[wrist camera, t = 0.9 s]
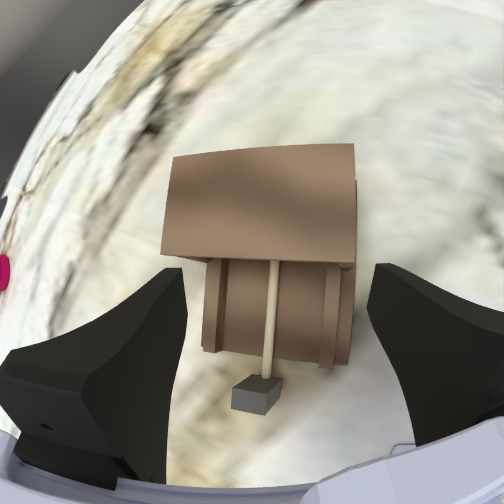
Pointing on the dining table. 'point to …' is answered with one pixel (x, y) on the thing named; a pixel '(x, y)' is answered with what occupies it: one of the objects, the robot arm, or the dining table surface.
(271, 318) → the tan piece
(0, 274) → the pepper mill
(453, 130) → the dining table surface
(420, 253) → the dining table surface
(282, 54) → the dining table surface
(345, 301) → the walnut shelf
